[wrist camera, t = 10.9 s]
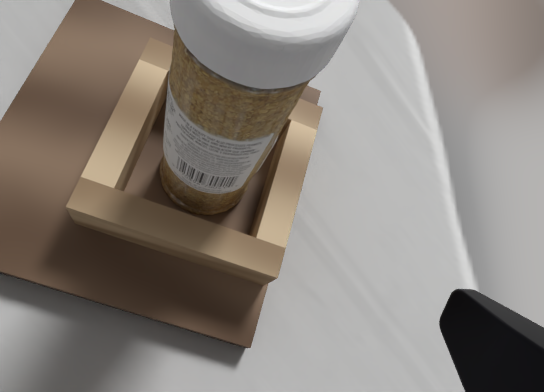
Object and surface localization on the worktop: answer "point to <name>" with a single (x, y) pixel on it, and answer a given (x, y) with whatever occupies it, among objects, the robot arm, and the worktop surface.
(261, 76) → the spice jar
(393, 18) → the worktop surface
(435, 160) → the worktop surface
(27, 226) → the socket
